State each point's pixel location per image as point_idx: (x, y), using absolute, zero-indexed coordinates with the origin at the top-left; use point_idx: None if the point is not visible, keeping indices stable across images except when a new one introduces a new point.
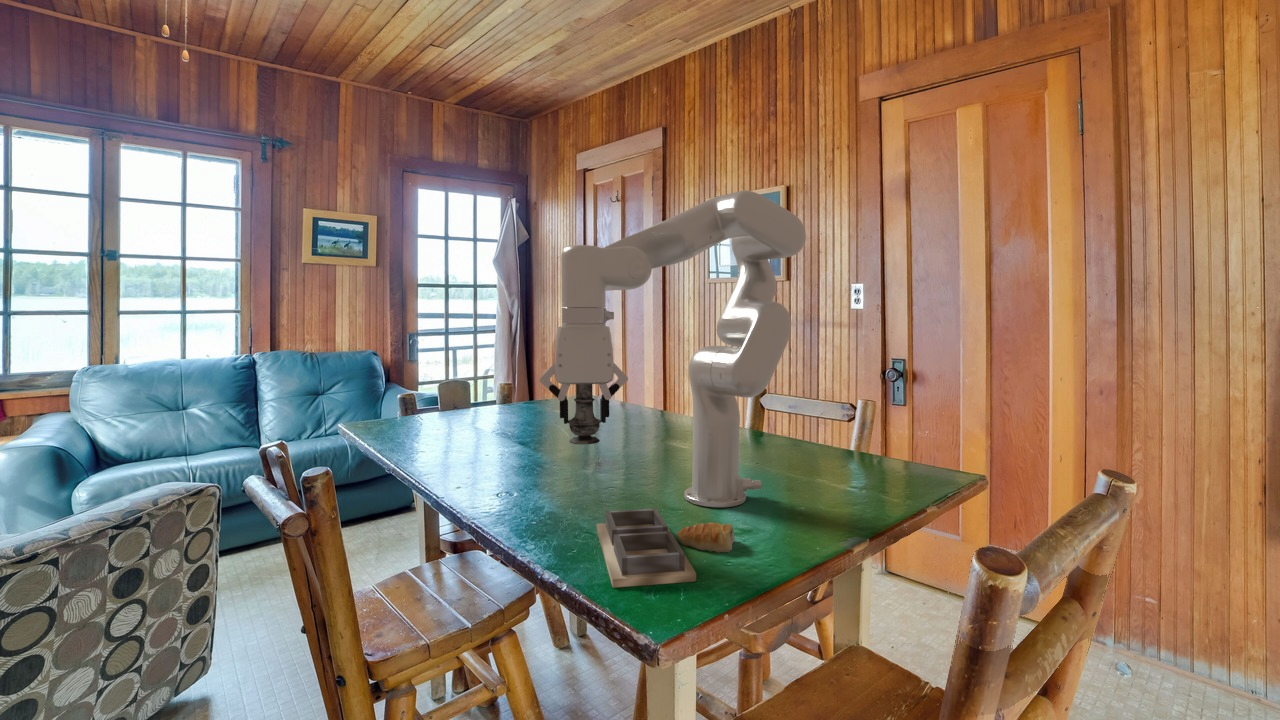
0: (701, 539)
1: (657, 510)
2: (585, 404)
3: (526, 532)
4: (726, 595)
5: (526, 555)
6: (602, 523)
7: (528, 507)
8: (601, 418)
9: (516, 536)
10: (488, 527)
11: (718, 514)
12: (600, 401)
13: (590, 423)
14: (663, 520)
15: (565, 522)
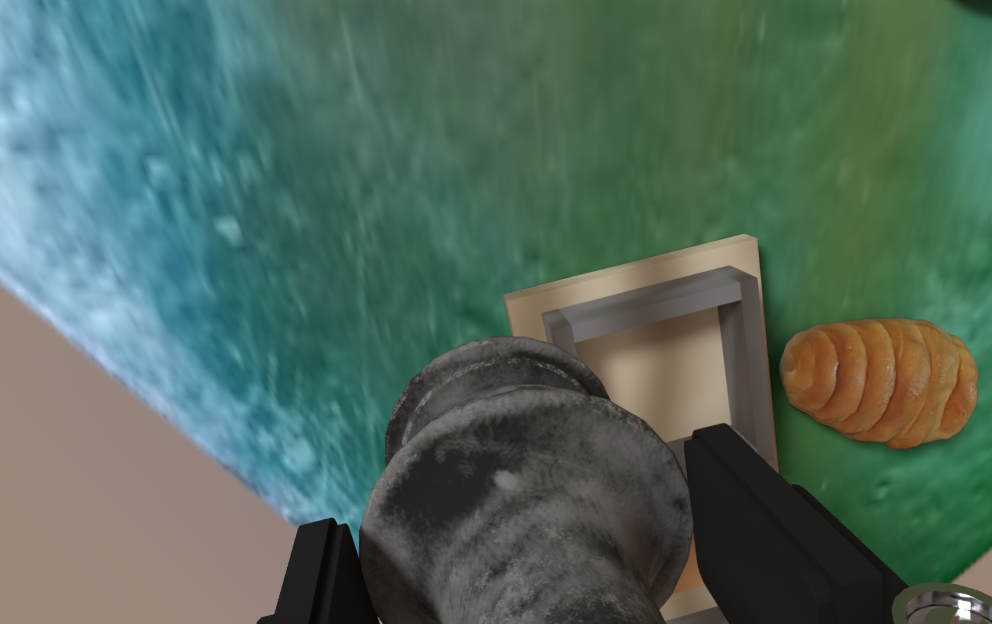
0: (852, 436)
1: (758, 301)
2: None
3: (238, 337)
4: None
5: (308, 517)
6: (528, 297)
7: (125, 20)
8: (712, 585)
9: (214, 378)
10: (55, 301)
11: (971, 77)
12: (797, 612)
13: None
14: (767, 403)
15: (364, 218)
